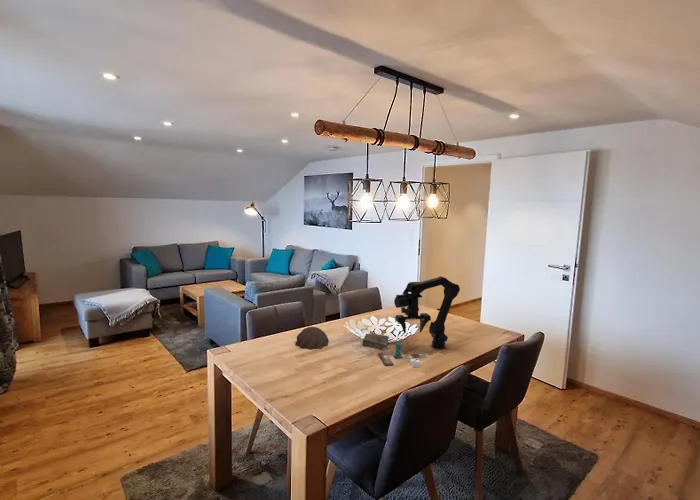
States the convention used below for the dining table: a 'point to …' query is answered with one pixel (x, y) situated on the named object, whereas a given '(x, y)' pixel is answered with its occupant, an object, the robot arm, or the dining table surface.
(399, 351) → the pawn
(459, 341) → the dining table surface
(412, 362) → the die
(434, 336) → the robot arm
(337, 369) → the dining table surface
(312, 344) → the decorative dome
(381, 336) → the marble piece
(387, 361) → the board
